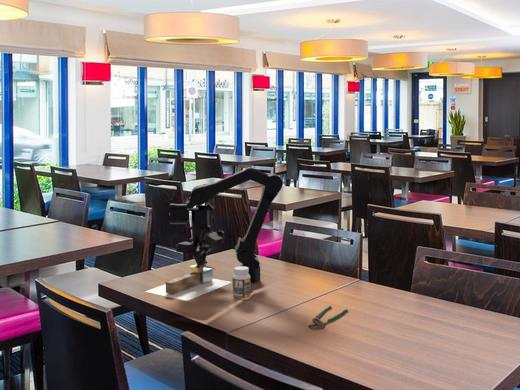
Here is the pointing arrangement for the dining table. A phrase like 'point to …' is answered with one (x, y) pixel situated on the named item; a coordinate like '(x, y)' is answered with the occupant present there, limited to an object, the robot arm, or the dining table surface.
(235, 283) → the pill bottle
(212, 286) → the board
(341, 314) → the pliers
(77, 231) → the dining table surface
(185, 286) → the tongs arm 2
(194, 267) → the block
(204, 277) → the hinge block
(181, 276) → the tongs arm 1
